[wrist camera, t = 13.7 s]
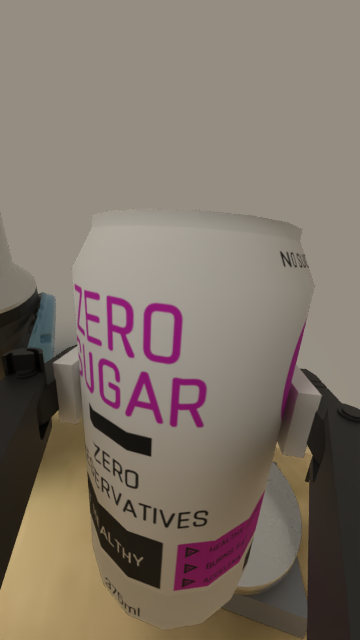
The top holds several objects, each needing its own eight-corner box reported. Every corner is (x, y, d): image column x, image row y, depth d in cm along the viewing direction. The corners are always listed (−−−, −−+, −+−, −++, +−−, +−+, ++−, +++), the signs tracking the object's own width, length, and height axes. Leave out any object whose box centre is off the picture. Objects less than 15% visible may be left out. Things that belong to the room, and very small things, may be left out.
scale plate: (136, 579, 19) (136, 549, 17) (175, 446, 32) (177, 424, 31) (314, 647, 16) (329, 618, 15) (276, 471, 29) (282, 448, 28)
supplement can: (231, 457, 16) (268, 243, 12) (270, 654, 8) (428, 217, 4) (123, 447, 16) (120, 233, 12) (58, 627, 8) (-19, 189, 4)
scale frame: (143, 578, 19) (144, 559, 18) (177, 453, 31) (178, 439, 31) (303, 638, 17) (311, 620, 16) (272, 477, 29) (276, 462, 28)
